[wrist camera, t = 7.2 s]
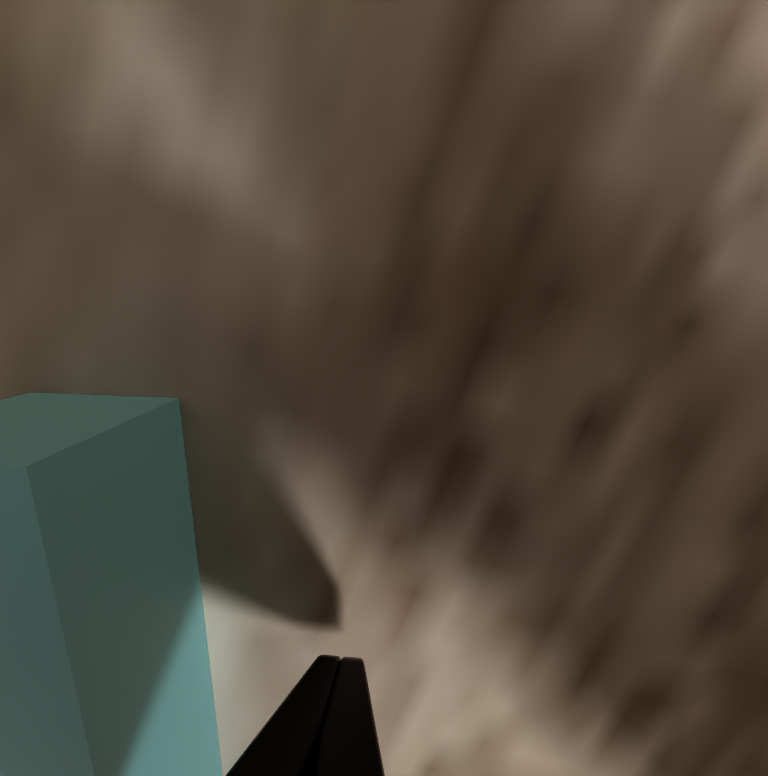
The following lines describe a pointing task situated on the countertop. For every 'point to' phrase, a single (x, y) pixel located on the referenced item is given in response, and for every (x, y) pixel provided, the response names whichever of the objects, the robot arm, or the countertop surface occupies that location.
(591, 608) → the countertop surface
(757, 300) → the countertop surface
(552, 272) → the countertop surface
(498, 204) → the countertop surface
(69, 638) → the t block
